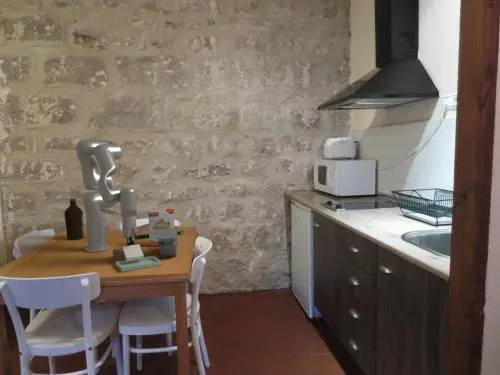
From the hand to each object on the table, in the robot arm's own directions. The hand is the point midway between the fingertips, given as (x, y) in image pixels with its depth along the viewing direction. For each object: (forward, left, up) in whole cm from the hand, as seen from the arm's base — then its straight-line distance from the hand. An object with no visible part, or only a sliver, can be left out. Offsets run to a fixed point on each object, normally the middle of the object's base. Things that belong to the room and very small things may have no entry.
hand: (131, 250), depth 195 cm
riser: (-3, 0, -5) cm, 6 cm away
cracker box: (-21, +23, -5) cm, 31 cm away
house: (-52, +29, -6) cm, 60 cm away
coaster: (+5, -1, -1) cm, 5 cm away
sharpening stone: (0, +19, -5) cm, 20 cm away
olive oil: (-71, -16, -5) cm, 72 cm away
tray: (+12, 0, -5) cm, 13 cm away
